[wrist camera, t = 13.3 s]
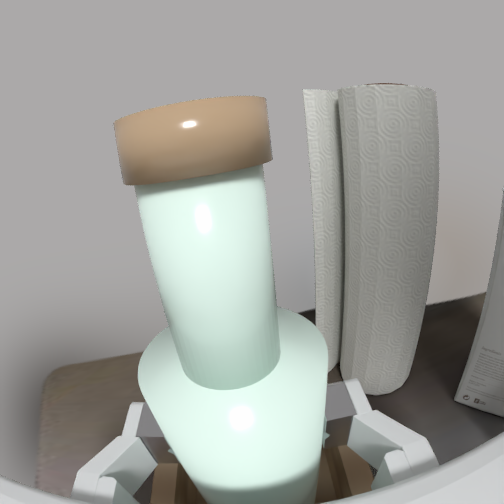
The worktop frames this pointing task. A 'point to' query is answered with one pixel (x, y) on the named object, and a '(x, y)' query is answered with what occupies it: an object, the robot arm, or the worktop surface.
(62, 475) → the worktop surface
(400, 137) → the paper towel roll
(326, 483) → the bottle stand
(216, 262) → the glass bottle
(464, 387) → the skincare box
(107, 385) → the worktop surface
